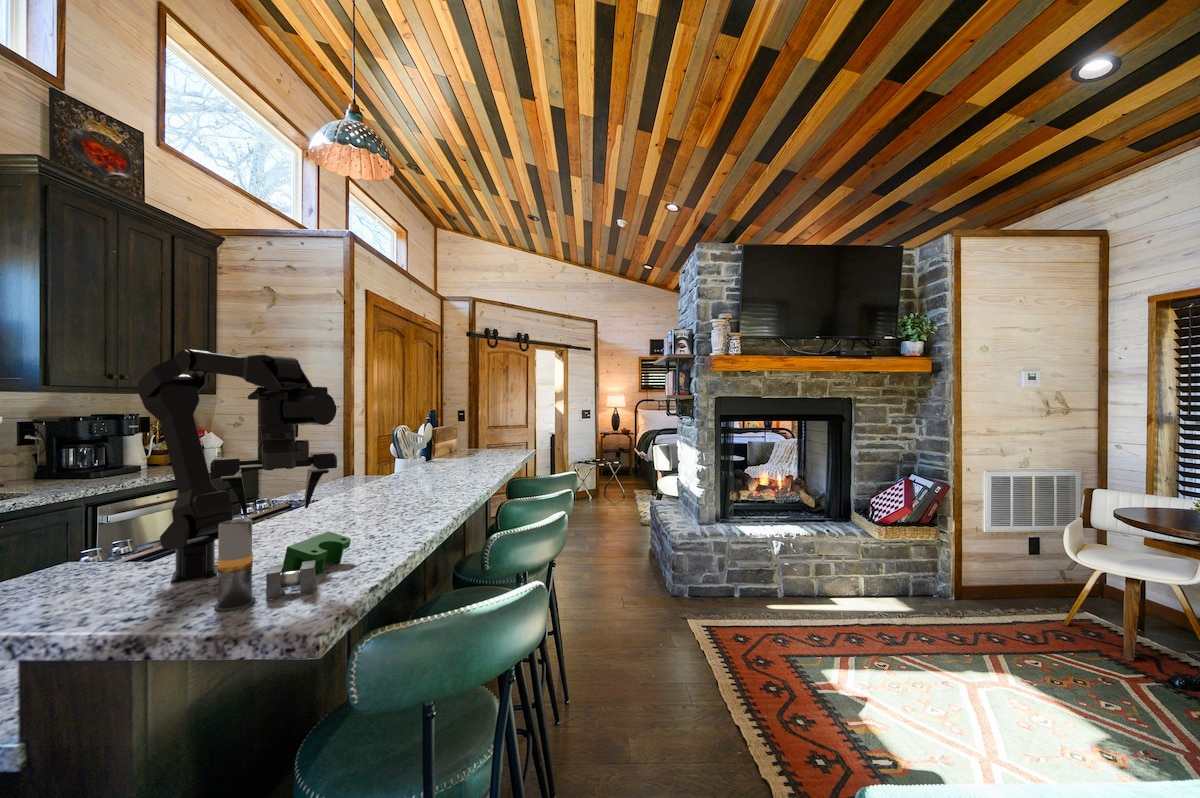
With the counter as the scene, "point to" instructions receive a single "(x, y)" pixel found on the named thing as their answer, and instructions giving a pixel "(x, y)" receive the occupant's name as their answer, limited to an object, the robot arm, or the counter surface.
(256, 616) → the counter surface
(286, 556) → the clamp
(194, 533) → the robot arm
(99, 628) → the counter surface
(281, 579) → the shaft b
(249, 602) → the pad
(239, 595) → the sleeve
